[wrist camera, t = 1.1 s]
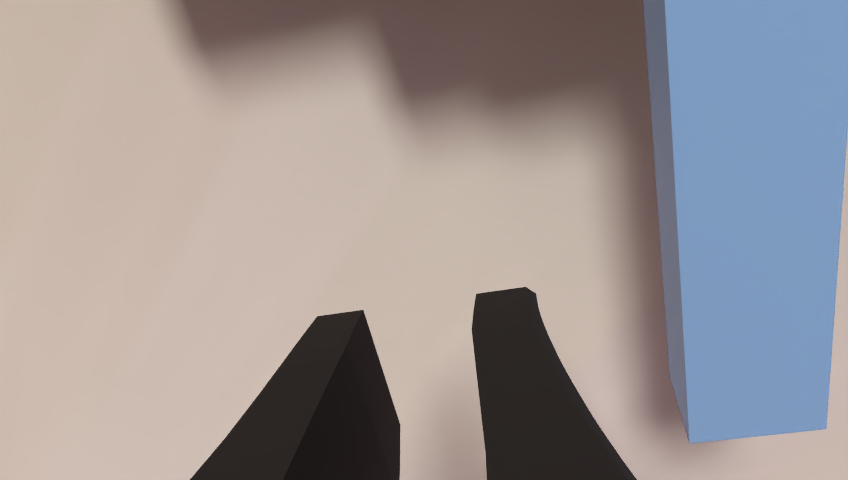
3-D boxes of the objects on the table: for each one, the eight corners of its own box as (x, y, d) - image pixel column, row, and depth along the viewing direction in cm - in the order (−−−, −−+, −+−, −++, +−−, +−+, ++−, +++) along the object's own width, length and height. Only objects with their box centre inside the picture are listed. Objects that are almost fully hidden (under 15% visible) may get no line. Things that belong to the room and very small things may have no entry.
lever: (843, -550, 9) (946, -626, 7) (803, 340, 16) (849, 426, 14) (568, -469, 10) (592, -520, 8) (644, 360, 17) (667, 445, 15)
